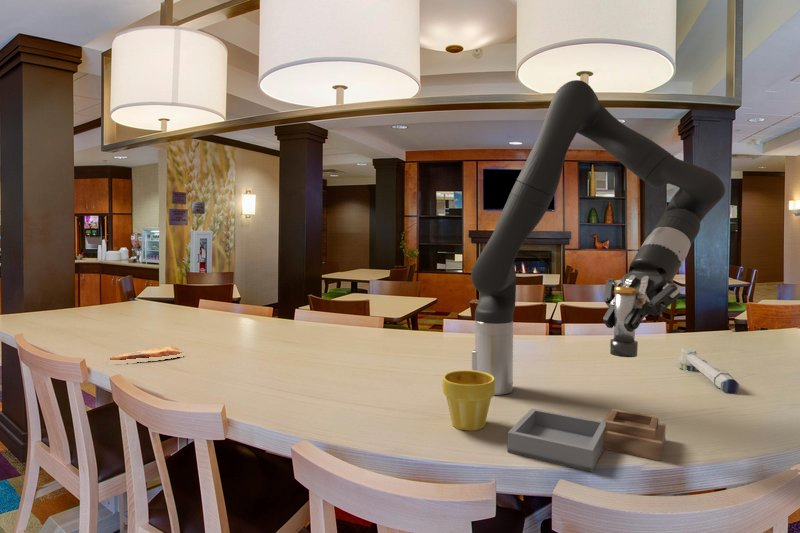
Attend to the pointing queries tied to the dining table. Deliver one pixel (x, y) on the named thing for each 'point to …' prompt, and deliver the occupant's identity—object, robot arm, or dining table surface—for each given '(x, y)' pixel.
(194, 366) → the dining table surface
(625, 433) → the brown square open box
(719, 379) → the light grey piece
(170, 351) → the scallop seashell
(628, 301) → the gold-capped glass canister
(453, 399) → the plant pot
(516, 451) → the tray
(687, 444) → the dining table surface
